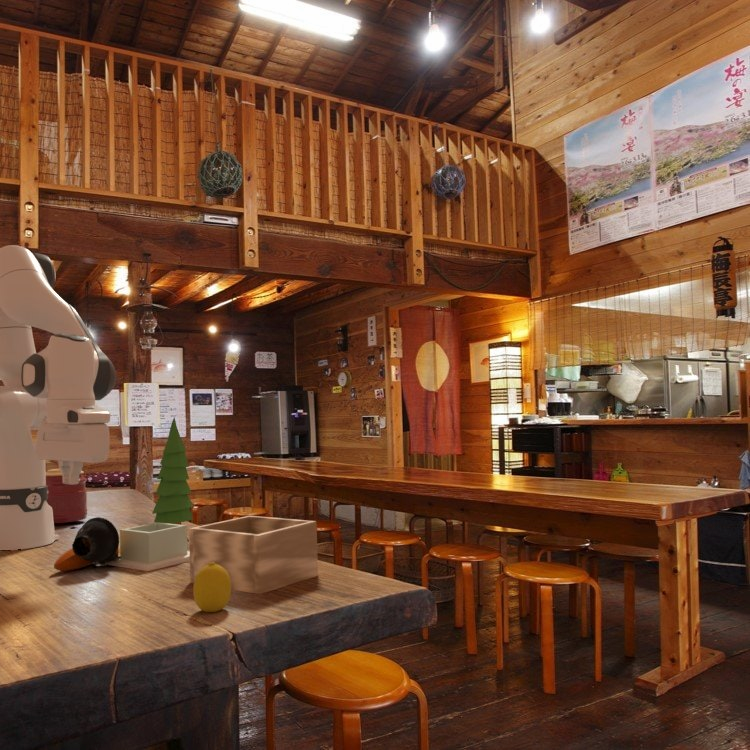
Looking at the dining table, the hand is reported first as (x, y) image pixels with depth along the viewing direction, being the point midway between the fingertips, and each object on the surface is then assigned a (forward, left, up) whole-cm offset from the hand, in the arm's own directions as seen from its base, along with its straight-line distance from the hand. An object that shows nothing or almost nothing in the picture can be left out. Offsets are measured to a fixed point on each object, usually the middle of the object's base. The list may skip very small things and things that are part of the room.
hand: (70, 484), depth 132 cm
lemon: (+47, -6, -18) cm, 51 cm away
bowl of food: (+6, -2, -13) cm, 14 cm away
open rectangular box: (+7, +14, -17) cm, 23 cm away
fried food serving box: (+38, +12, -17) cm, 44 cm away
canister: (-67, +38, -18) cm, 79 cm away
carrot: (+1, -4, -15) cm, 16 cm away
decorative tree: (-7, +30, -18) cm, 35 cm away
